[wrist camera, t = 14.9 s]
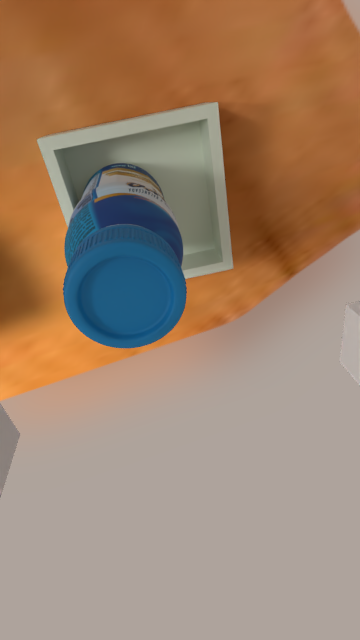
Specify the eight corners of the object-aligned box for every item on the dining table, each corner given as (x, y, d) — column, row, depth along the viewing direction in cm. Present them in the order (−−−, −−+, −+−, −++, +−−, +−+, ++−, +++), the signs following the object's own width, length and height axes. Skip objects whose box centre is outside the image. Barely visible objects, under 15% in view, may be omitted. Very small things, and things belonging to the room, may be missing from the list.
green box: (96, 278, 40) (93, 298, 36) (48, 134, 32) (36, 139, 28) (222, 251, 40) (233, 268, 36) (205, 102, 32) (217, 102, 28)
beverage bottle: (64, 184, 33) (7, 271, 17) (142, 144, 32) (164, 192, 16) (108, 257, 38) (98, 382, 21) (178, 223, 37) (224, 327, 20)
